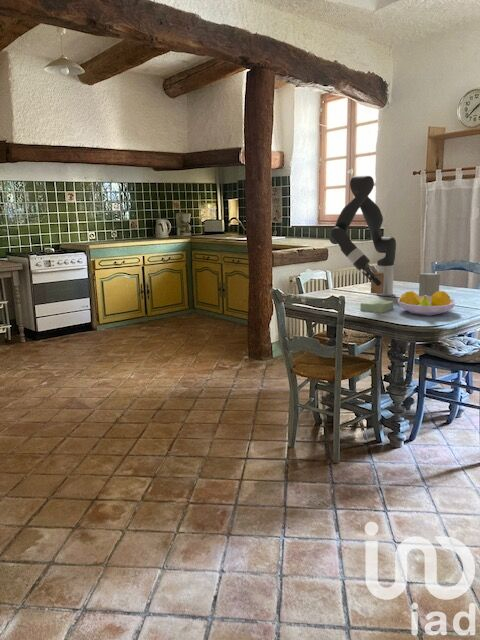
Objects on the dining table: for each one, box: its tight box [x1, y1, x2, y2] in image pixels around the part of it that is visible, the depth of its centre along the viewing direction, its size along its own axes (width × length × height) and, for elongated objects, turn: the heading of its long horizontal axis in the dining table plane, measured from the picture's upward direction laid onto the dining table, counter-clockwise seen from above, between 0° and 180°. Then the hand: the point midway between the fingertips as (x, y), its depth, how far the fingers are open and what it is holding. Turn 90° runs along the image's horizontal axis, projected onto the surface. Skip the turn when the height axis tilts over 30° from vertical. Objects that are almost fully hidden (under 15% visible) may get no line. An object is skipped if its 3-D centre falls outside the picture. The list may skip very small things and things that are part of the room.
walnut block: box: [370, 272, 384, 295], centre depth 257 cm, size 5×5×10 cm
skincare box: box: [418, 272, 441, 296], centre depth 269 cm, size 8×7×16 cm
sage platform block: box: [359, 298, 394, 313], centre depth 260 cm, size 12×12×4 cm
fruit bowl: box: [397, 290, 456, 317], centre depth 247 cm, size 28×27×11 cm
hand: (381, 283), depth 256 cm, fingers closed on walnut block, 5 cm apart
